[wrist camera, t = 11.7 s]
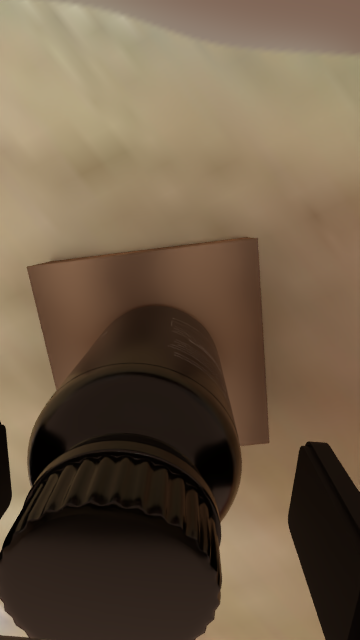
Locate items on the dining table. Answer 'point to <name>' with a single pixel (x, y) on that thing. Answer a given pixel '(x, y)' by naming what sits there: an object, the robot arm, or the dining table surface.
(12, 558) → the supplement bottle
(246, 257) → the base block
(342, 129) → the dining table surface
